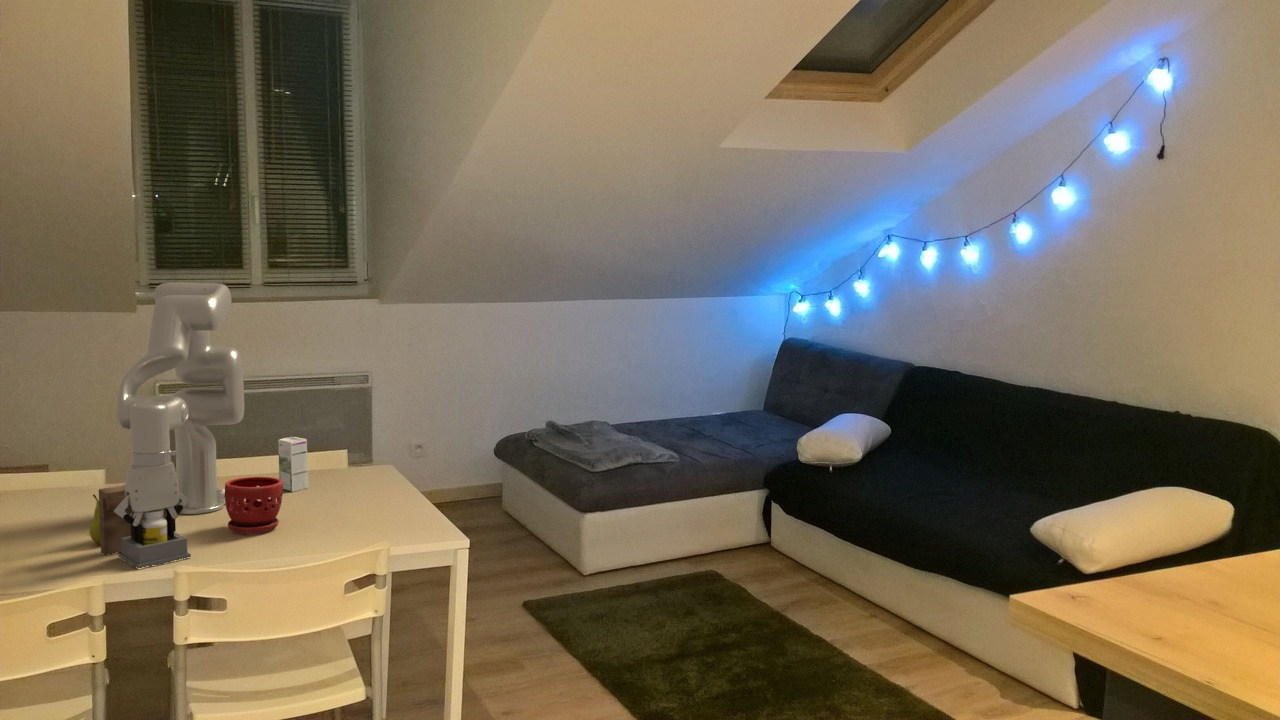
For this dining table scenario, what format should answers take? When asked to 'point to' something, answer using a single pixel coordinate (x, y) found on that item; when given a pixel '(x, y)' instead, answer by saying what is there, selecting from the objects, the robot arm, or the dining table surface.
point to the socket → (153, 551)
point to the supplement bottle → (153, 527)
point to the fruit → (95, 524)
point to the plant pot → (253, 504)
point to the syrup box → (293, 463)
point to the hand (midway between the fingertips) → (153, 538)
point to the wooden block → (113, 519)
